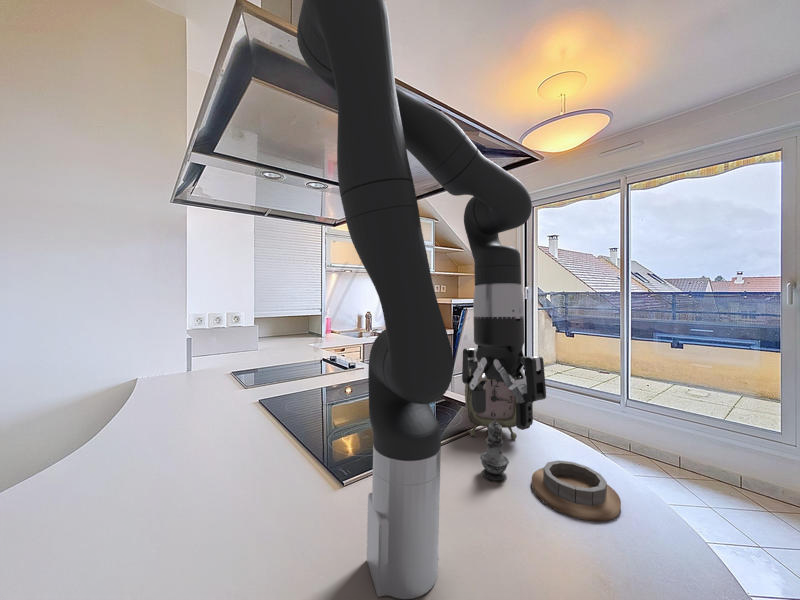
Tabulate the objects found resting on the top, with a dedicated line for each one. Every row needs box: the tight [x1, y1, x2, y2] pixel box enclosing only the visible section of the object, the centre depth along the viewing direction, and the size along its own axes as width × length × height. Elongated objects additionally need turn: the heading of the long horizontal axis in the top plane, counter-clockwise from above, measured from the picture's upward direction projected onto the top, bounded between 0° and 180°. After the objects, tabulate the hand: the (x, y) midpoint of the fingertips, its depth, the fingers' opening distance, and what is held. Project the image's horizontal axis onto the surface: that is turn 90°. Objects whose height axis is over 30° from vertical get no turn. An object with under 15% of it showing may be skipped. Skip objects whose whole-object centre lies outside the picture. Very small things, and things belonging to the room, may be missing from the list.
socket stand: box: [531, 460, 622, 522], centre depth 62 cm, size 15×15×4 cm
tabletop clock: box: [464, 369, 518, 440], centre depth 88 cm, size 14×9×25 cm, turn 83°
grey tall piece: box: [479, 419, 510, 484], centre depth 67 cm, size 6×6×12 cm
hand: (500, 419), depth 49 cm, fingers open, 8 cm apart
